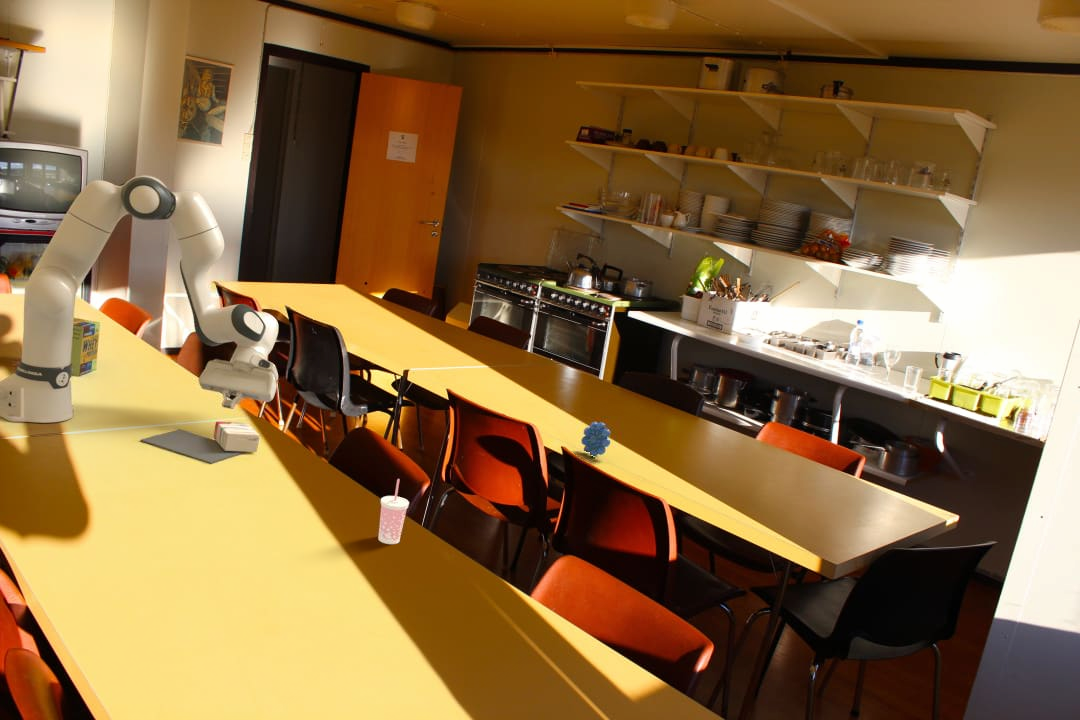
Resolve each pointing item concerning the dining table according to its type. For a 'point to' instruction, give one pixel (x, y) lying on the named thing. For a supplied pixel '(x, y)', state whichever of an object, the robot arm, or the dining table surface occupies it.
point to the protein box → (84, 346)
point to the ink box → (236, 436)
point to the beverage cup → (392, 517)
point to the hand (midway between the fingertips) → (227, 407)
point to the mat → (191, 446)
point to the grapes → (596, 438)
